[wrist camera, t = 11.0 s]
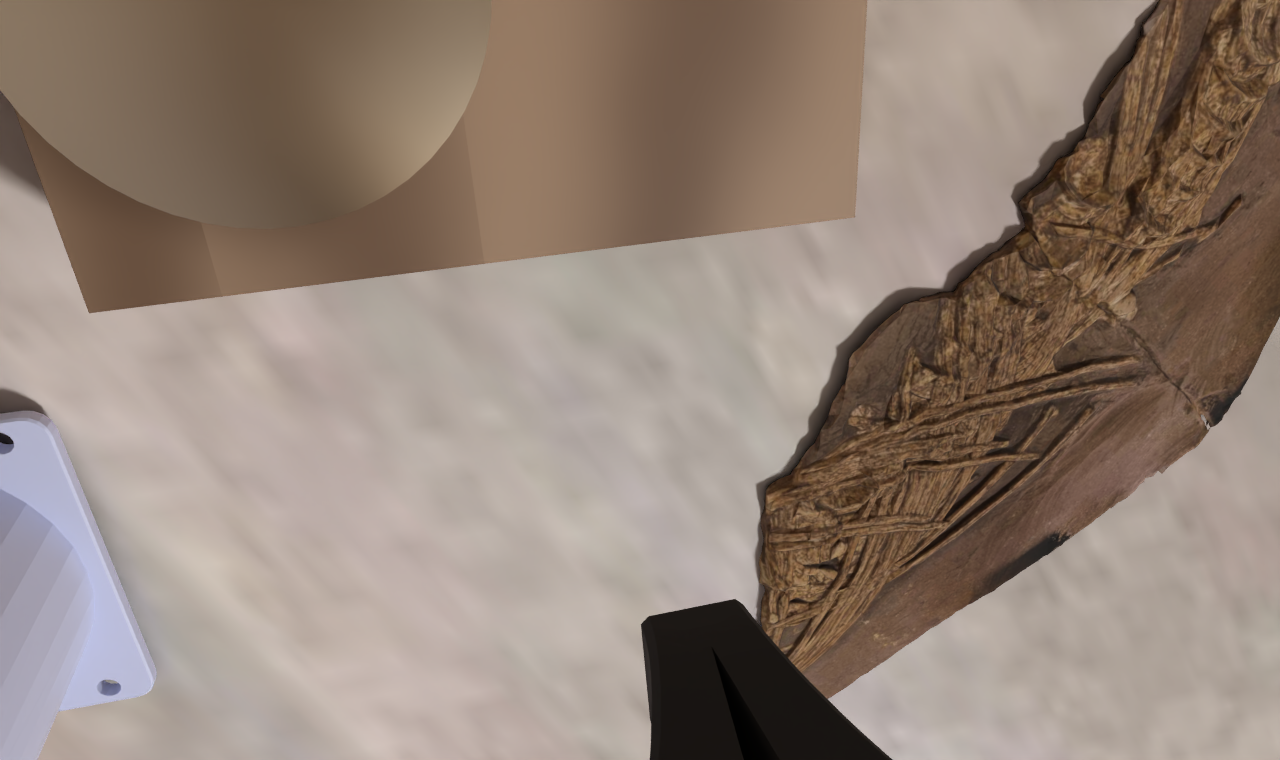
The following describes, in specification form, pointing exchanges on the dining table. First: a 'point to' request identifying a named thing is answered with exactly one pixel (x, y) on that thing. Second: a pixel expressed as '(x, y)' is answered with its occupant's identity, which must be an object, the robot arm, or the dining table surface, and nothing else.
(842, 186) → the board
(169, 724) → the dining table surface
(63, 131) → the peg
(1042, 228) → the wooden fragment
